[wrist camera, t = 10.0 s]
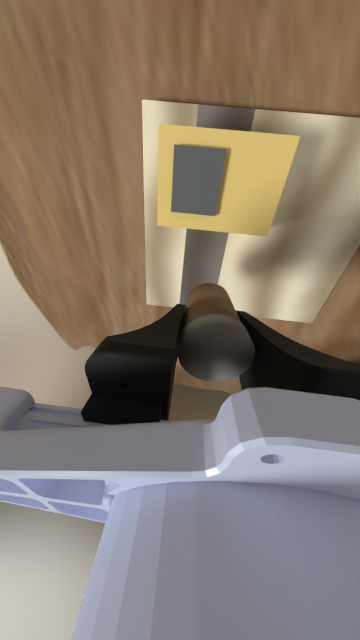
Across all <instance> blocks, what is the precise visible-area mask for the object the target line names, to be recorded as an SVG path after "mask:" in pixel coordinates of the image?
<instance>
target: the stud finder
mask: <svg viewBox="0 0 360 640" xmlns="http://www.w3.org/2000/svg"><path fill="white" fill-rule="evenodd" d="M299 139H300V136H296V135H284V134H272V133H261V132H249V131H238V130H226V129H215V128H203V127H191V126H180V125H168V124H159V132H158V215H157V225H158V226H168V227H178V228H187V229H197V230H207V231H217V232H226V233H236V234H246V235H256V236H265V237H267V236H268V233H269V230H270V227H271V224H272V221H273V218H274V215H275V212H276V209H277V206H278V203H279V200H280V197H281V194H282V191H283V188H284V185H285V182H286V179H287V176H288V173H289V170H290V167H291V164H292V161H293V158H294V154H295V151H296V148H297V145H298V142H299Z"/></svg>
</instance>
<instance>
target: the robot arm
mask: <svg viewBox="0 0 360 640" xmlns="http://www.w3.org/2000/svg"><path fill="white" fill-rule="evenodd" d="M185 309H186V305H184V304H176V305H175V306H174V307H173V308H172V309H171V310H170V311H169V312H168V313H167V314H166V315H165V316H163V317H162V318H160V319H159V320H157V321H156V322H154V323H152V324H150V325H148V326H145V327H143V328H141V329H138V330H135V331H131V332H128V333H124V334H119V335H114V336H108V337H106V338H105V339H104V340H103V341H102V342H101V343H100V345H99V346H98V347H97V348H96V350H95V351H94V352H93V354H92V355H91V356H90V357H89V359H88V360H87V361H86V364H85V372H86V376H87V379H88V382H89V385H90V388H91V391H92V394H91V396H90V398H89V400H88V401H87V403H86V404H85V406H84V408H83V409H76V408H69V407H61V406H53V405H46V404H38V403H35V401H34V399H33V397H32V395H31V394H30V393H28V392H26V391H24V390H20V389H12V388H5V387H0V501H2V502H7V503H13V504H17V505H23V506H28V507H33V508H37V509H42V510H46V511H51V512H56V513H61V514H66V515H70V516H75V517H80V518H84V519H89V520H94V521H98V522H103V523H106V524H105V527H104V530H103V534H102V537H101V540H100V544H99V547H98V551H97V554H96V557H95V561H94V564H93V568H92V571H91V574H90V577H89V580H88V584H87V587H86V591H85V594H84V598H83V600H82V604H81V607H80V610H79V614H78V617H77V620H76V624H75V627H74V631H73V634H72V637H71V640H360V365H359V364H355V363H352V362H348V361H345V360H342V359H339V358H336V357H333V356H330V355H327V354H324V353H322V352H319V351H316V350H314V349H311V348H309V347H307V346H304V345H302V344H300V343H297V342H295V341H293V340H291V339H289V338H287V337H285V336H283V335H282V334H280V333H278V332H276V331H275V330H273V329H271V328H270V327H268V326H267V325H265V324H263V323H262V322H260V321H259V320H258V319H256V318H255V317H253V316H252V315H250V314H248V313H247V312H244V311H237V310H236V312H237V315H238V317H239V319H240V321H241V323H242V324H243V325H244V326H245V328H246V330H247V332H248V334H249V336H250V338H251V340H252V342H253V344H254V347H255V357H254V360H253V363H252V364H251V366H250V367H249V368H248V369H247V370H246V371H245V372H244V373H243V374H241V375H239V377H240V382H241V388H242V390H241V391H239V392H236V393H233V394H232V395H231V396H230V397H229V398H228V399H227V400H226V401H225V402H224V403H223V404H222V405H221V408H220V410H219V413H218V416H217V418H216V419H203V420H186V421H168V419H169V411H170V404H171V396H172V388H173V381H174V373H175V367H176V362H177V358H178V350H179V343H180V337H181V334H182V331H183V326H184V317H185Z"/></svg>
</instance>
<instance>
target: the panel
mask: <svg viewBox="0 0 360 640" xmlns="http://www.w3.org/2000/svg"><path fill="white" fill-rule="evenodd" d="M142 119H143V163H144V207H145V251H146V295H147V304H150V305H158V306H167V307H174V306H175V305H176V304H184V305H186V303H187V298H188V295H189V293H190V292H191V291H192V290H193V289H194V288H195V287H196V286H198V285H200V284H203V283H215V284H218V285H220V286H222V287H223V288H224V289H225V290H226V291H227V293H228V295H229V297H230V299H231V301H232V304H233V306H234V308H235V310H237V311H244V312H247V313H248V314H250V315H252V316H254V317H262V318H271V319H280V320H288V321H297V322H306V323H312V322H313V321H314V319H315V317H316V316H317V314H318V313H319V311H320V309H321V308H322V306H323V304H324V303H325V301H326V299H327V298H328V296H329V295H330V293H331V291H332V290H333V288H334V286H335V285H336V283H337V281H338V280H339V278H340V277H341V275H342V273H343V272H344V270H345V268H346V267H347V265H348V263H349V262H350V260H351V259H352V257H353V255H354V254H355V252H356V250H357V249H358V247H359V245H360V118H356V117H344V116H332V115H320V114H308V113H296V112H284V111H272V110H260V109H248V108H236V107H224V106H212V105H200V104H188V103H176V102H164V101H152V100H142ZM159 124H168V125H180V126H191V127H203V128H215V129H226V130H238V131H249V132H261V133H272V134H284V135H296V136H300V139H299V142H298V145H297V148H296V151H295V154H294V158H293V161H292V164H291V167H290V170H289V173H288V176H287V179H286V182H285V185H284V188H283V191H282V194H281V197H280V200H279V203H278V206H277V209H276V212H275V215H274V218H273V221H272V224H271V227H270V230H269V233H268V236H267V237H265V236H256V235H246V234H236V233H226V232H217V231H207V230H197V229H187V228H178V227H168V226H158V225H157V215H158V132H159Z"/></svg>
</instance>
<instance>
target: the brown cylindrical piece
mask: <svg viewBox="0 0 360 640" xmlns="http://www.w3.org/2000/svg"><path fill="white" fill-rule="evenodd" d="M254 357H255V347H254V344H253V342H252V340H251V338H250V336H249V334H248V332H247V330H246V328H245V326H244V325H243V324H242V323H241V321H240V319H239V317H238V315H237V312H236V310H235V308H234V306H233V304H232V301H231V299H230V297H229V295H228V293H227V291H226V290H225V289H224V288H223V287H222V286H220V285H218V284H215V283H203V284H200V285H198V286H196V287H195V288H194V289H193V290H192V291H191V292H190V293H189V295H188V298H187V303H186V311H185V319H184V327H183V331H182V334H181V337H180V343H179V350H178V358H179V361H180V364H181V365H182V367H183V368H184V369H185V370H186V371H187V372H188V373H189V374H191V375H192V376H194V377H196V378H199V379H202V380H206V381H225V380H229V379H232V378H235V377H237V376H239V375H241V374H243V373H244V372H245V371H246V370H247V369H248V368H249V367H250V366H251V364H252V363H253V360H254Z"/></svg>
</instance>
